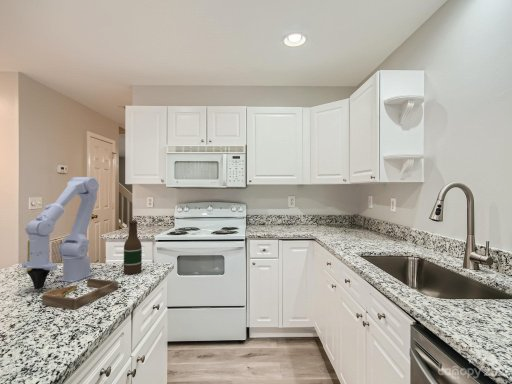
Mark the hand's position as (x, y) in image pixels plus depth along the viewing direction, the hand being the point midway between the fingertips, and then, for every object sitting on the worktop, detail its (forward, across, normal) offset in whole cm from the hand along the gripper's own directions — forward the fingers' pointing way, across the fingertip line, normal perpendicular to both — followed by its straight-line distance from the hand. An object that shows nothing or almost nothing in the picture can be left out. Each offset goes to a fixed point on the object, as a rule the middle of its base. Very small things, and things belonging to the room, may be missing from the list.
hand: (39, 288), depth 98 cm
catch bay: (+1, +20, 0) cm, 20 cm away
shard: (+2, +9, 0) cm, 9 cm away
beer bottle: (+1, +18, +28) cm, 33 cm away
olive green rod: (+1, -27, +18) cm, 32 cm away
